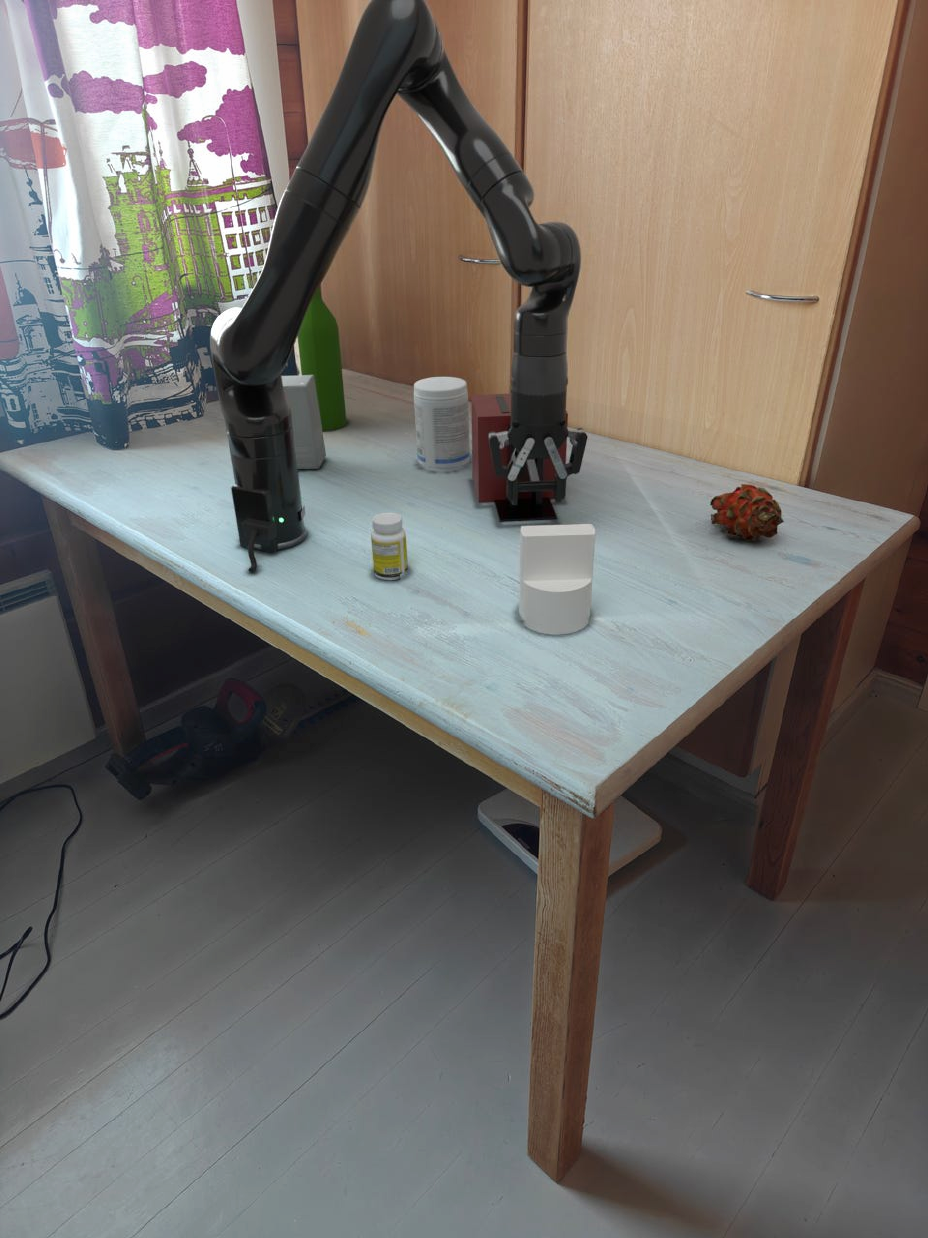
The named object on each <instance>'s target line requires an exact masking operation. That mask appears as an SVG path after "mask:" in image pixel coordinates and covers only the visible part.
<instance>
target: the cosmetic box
mask: <svg viewBox="0 0 928 1238" xmlns="http://www.w3.org/2000/svg"><path fill="white" fill-rule="evenodd" d="M281 376H282V383H283V388H284V391H285V395H286V398H287V401H288V404H289V406H290V410H291V416H292V425H293V433H294V442H295V451H296V459H297V468H298V470H319V469H320V467H321V465H322V464H323V462H324V461H325V459H326V456H327V453H326V446H325V439H324V438H325V437H324V431H322V425H321V419H320V412H319V405H318V399H317V392H316V386H315V379H314V375H298V376H297V375H281Z"/></svg>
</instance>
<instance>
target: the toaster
mask: <svg viewBox="0 0 928 1238" xmlns="http://www.w3.org/2000/svg"><path fill="white" fill-rule="evenodd" d="M470 397H471V400H470V401H471V402H470V403H471V467H472V468H471V469H472V470H471V472H472V474H471V475H472V481H473V485H474V489H475V493H476V497H477V502H478V503H479V504H484V503H494V500H503V499H507V494H506V491H507V479H506V478H504V477H497V476H496V475H495V471H494V467H493V462H492V456H491V450H490V445H489V439H488V434H489V432H491V431H494V432H495V433H499V432H504V431H507V429H508V425H510V422H511V393H492V394H491V393H489V394H487V393H486V394H471V396H470ZM568 422H569V413H568V411H567V410H566V418H565V423H566V427H567V428H568ZM567 444H568V437H567V438H566V440H565V441H564V442H563V444H562V445H561V446H560V447H559V449H558V450H557V451H558V453H559V455H560V458H561V460H562V463H563V465H564V464H567ZM500 453H501V459H502V465H503V466H506V467H507V446H506V442H505V445H504V447H503V448H502V449H500ZM556 472H557V471H556V469H555V466H554V464H553V462H552V460H551V457H549V459H543V481H546V480H554V479H555V474H556ZM517 480H518V482H524V481H530V477H529V472H528V468H527V464H526V461H525V463H524V465H523V467H522V468H521V469H520V471H519V473H518V475H517ZM547 497H549V499H550V501H552V500H554V490H550V491H542V498H547ZM525 498H532V491H528V492H518V499H525Z"/></svg>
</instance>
